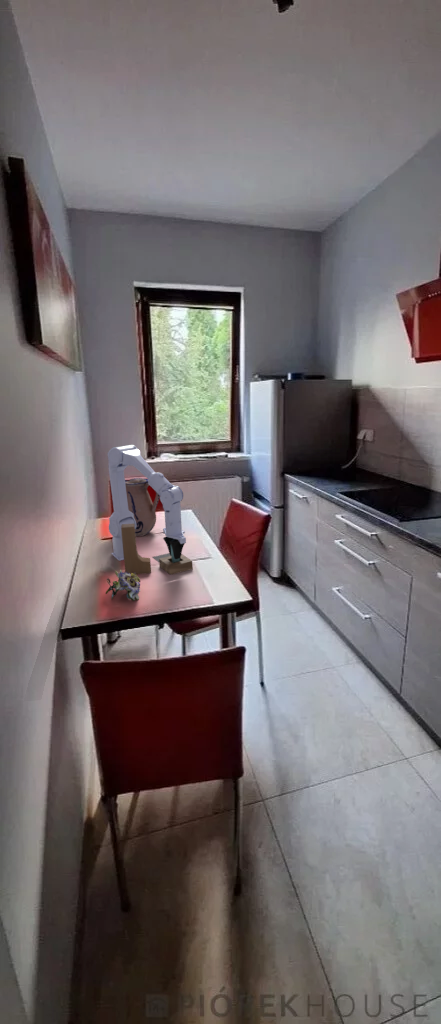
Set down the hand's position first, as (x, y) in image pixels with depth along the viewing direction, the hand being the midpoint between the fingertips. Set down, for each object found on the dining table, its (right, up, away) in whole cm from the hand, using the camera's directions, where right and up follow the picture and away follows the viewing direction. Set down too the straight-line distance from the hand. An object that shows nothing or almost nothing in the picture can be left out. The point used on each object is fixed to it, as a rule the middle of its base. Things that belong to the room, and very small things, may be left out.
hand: (175, 556), depth 154 cm
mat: (-5, -2, +11) cm, 12 cm away
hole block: (0, -4, +1) cm, 5 cm away
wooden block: (-13, -6, -1) cm, 14 cm away
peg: (0, -3, +1) cm, 3 cm away
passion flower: (-14, -11, -21) cm, 27 cm away
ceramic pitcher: (-20, +6, +42) cm, 47 cm away
